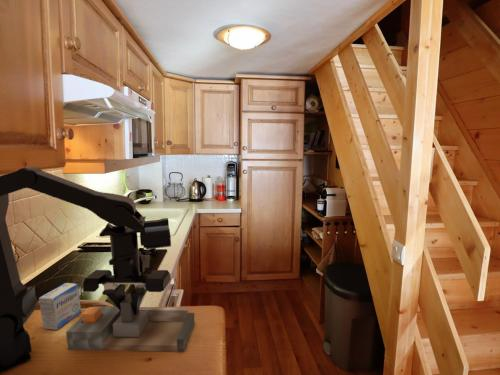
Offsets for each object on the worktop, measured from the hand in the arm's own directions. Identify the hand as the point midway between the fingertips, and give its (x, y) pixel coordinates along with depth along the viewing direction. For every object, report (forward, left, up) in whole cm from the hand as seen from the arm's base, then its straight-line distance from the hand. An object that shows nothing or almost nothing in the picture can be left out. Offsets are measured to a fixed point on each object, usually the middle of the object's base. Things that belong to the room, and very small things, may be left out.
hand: (130, 313), depth 67 cm
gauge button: (-6, +7, -3) cm, 10 cm away
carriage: (0, 0, -4) cm, 4 cm away
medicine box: (-9, +20, -6) cm, 23 cm away
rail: (0, -1, -6) cm, 6 cm away
